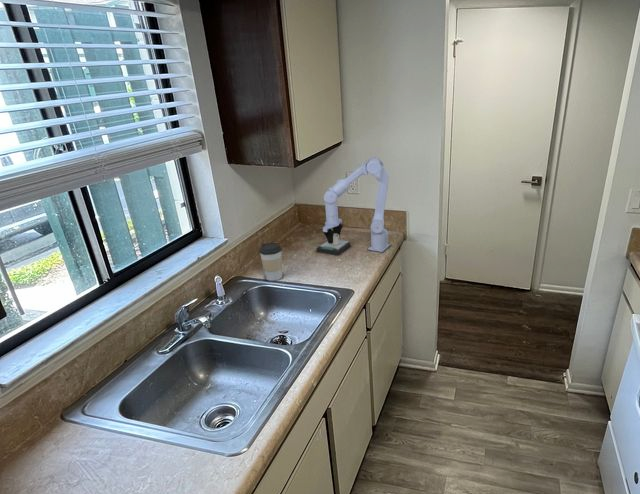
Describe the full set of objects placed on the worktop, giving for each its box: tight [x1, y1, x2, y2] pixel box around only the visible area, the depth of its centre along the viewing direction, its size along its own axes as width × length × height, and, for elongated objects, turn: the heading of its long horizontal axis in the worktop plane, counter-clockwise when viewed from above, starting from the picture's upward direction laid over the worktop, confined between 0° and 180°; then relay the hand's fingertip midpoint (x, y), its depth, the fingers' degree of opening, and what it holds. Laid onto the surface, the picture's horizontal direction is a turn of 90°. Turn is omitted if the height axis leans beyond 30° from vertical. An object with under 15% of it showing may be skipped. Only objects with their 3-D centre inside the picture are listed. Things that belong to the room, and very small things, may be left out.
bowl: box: [328, 233, 341, 246], centre depth 213 cm, size 6×6×4 cm
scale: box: [316, 239, 352, 256], centre depth 214 cm, size 12×12×3 cm
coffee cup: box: [258, 242, 283, 282], centre depth 184 cm, size 9×9×15 cm
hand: (333, 241), depth 213 cm, fingers closed on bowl, 5 cm apart
